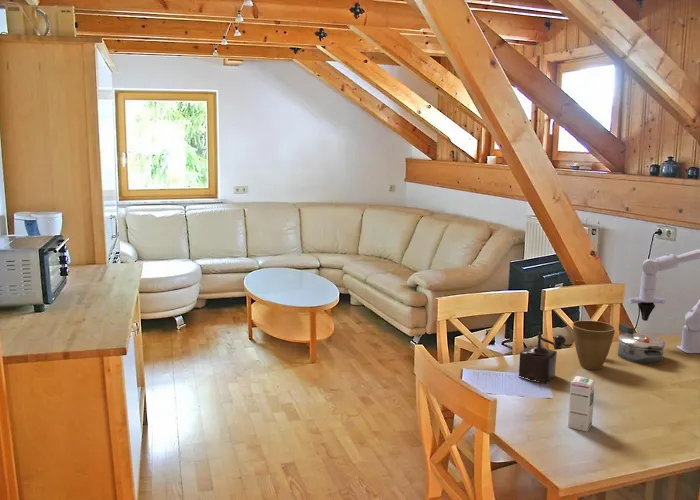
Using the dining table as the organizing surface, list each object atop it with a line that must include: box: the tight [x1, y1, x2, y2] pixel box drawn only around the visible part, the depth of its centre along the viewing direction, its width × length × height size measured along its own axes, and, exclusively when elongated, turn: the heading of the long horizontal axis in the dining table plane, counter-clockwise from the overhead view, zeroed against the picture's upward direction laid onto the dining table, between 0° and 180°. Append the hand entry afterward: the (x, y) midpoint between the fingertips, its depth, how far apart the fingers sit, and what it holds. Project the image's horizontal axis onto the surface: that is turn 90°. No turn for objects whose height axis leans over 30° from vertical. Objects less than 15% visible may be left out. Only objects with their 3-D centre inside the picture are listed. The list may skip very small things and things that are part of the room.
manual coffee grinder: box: [518, 331, 566, 384], centre depth 226 cm, size 16×11×18 cm
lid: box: [618, 322, 666, 351], centre depth 252 cm, size 25×17×3 cm, turn 6°
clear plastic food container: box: [617, 340, 665, 365], centre depth 252 cm, size 23×16×6 cm
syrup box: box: [567, 375, 596, 433], centre depth 189 cm, size 6×6×14 cm
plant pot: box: [572, 319, 616, 371], centre depth 239 cm, size 15×15×16 cm
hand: (644, 320), depth 266 cm, fingers closed
